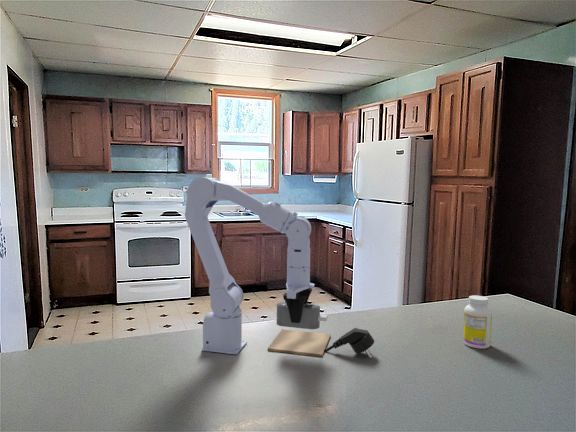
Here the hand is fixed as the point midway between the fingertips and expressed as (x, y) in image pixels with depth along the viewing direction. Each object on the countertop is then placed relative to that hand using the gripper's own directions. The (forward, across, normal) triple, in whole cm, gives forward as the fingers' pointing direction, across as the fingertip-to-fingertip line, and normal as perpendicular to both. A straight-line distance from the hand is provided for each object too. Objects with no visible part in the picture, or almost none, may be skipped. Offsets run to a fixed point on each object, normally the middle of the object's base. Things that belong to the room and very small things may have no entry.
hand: (297, 319), depth 103 cm
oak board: (+8, +6, 0) cm, 10 cm away
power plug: (+9, +3, -13) cm, 16 cm away
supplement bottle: (+9, +18, -45) cm, 49 cm away
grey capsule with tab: (+1, 0, 0) cm, 1 cm away
